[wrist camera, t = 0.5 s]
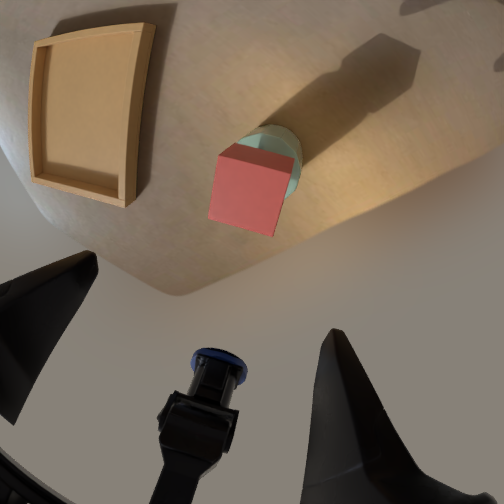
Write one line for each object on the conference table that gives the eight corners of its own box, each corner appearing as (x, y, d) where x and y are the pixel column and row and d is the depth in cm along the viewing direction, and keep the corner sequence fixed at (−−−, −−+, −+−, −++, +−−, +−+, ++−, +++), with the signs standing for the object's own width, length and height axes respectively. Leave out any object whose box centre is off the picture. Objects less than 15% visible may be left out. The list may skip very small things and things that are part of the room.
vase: (293, 187, 22) (288, 213, 18) (238, 172, 22) (220, 194, 18) (309, 133, 20) (309, 146, 16) (250, 118, 20) (233, 126, 16)
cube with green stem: (287, 180, 22) (272, 237, 14) (245, 169, 22) (207, 218, 14) (299, 139, 20) (291, 173, 12) (254, 128, 20) (218, 154, 12)
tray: (136, 199, 26) (125, 208, 24) (42, 176, 26) (31, 182, 25) (156, 25, 16) (144, 21, 15) (47, 40, 17) (34, 41, 15)
